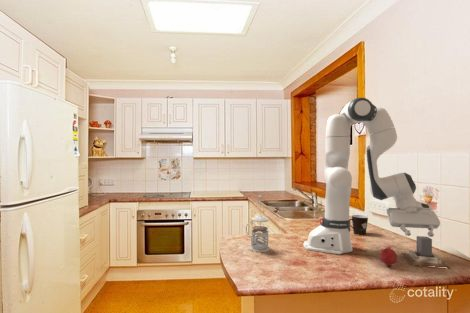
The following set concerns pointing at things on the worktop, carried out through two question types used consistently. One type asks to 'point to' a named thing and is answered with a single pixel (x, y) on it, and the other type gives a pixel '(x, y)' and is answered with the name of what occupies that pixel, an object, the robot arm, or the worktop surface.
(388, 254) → the onion
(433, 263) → the socket board
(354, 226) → the coffee mug
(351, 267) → the worktop surface
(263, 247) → the french press
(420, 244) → the plug
